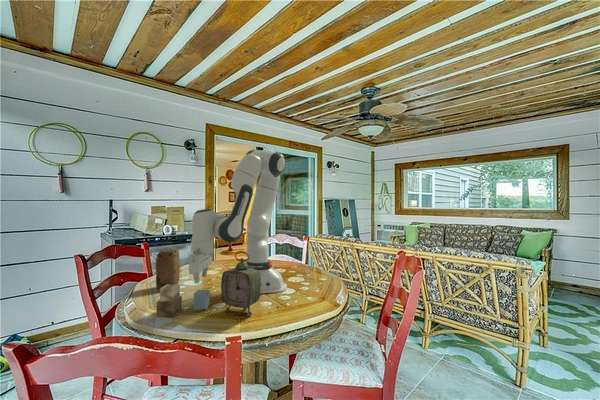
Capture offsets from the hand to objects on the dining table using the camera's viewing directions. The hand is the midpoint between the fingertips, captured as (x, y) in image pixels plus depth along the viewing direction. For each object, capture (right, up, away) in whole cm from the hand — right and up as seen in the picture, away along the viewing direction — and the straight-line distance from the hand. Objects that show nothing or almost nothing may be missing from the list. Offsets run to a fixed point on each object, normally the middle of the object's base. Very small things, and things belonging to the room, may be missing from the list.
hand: (200, 279), depth 120 cm
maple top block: (-10, -6, -6) cm, 13 cm away
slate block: (0, -12, 0) cm, 12 cm away
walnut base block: (-11, -12, -6) cm, 17 cm away
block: (-27, -12, +27) cm, 40 cm away
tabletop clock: (+18, -13, -3) cm, 22 cm away
